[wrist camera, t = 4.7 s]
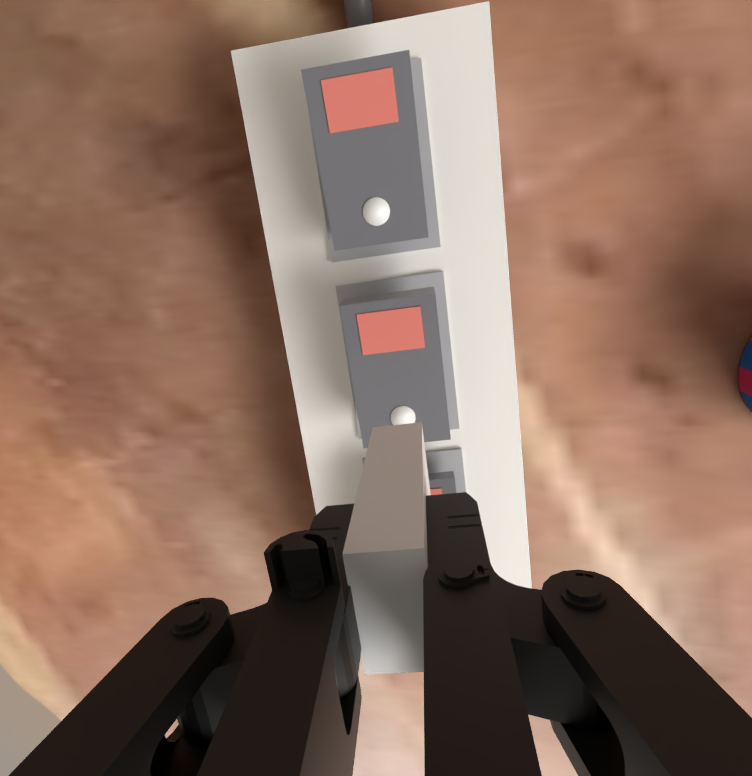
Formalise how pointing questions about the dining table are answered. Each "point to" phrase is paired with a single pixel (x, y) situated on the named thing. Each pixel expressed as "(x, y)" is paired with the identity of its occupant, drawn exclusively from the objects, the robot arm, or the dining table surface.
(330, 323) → the strip
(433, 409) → the rocker mid
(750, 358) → the mug
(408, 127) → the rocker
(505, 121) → the dining table surface
